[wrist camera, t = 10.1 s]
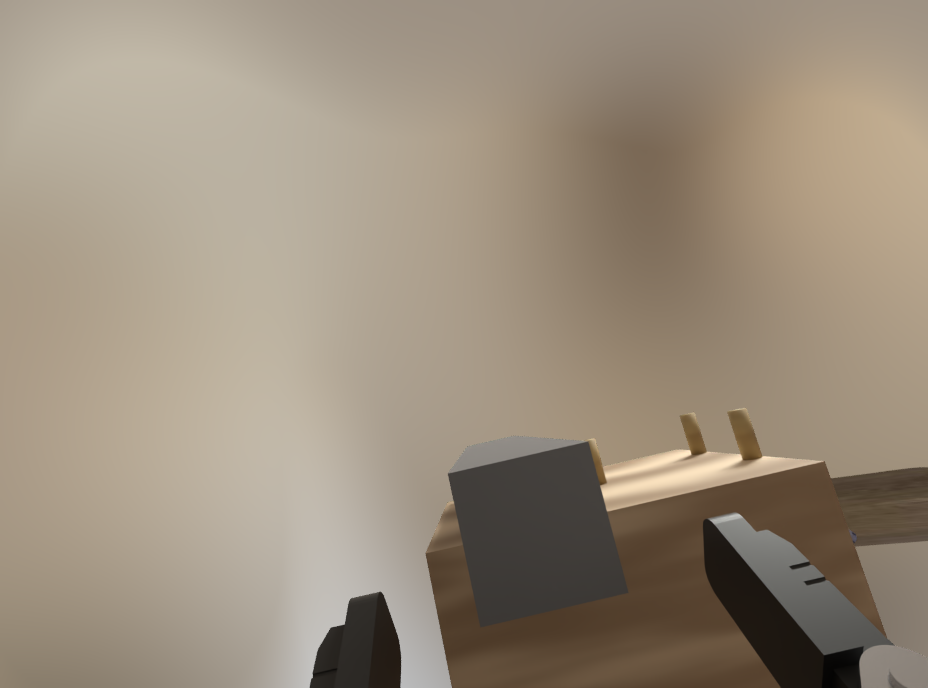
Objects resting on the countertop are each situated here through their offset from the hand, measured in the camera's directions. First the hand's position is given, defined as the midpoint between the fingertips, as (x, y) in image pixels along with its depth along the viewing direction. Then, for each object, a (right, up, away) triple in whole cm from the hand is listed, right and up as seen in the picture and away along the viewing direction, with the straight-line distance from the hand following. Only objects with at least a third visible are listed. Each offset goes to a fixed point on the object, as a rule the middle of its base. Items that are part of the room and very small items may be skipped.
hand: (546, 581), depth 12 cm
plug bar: (0, -2, +11) cm, 11 cm away
